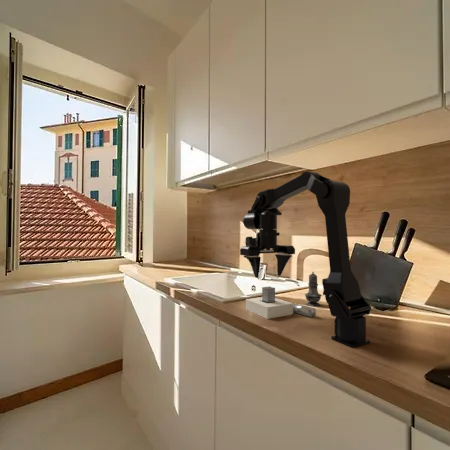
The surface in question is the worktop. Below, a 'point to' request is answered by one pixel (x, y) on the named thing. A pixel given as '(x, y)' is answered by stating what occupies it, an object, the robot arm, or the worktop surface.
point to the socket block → (269, 308)
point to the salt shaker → (313, 292)
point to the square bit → (268, 294)
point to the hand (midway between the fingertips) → (268, 276)
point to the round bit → (304, 310)
